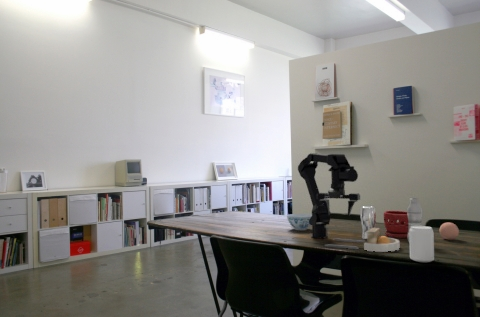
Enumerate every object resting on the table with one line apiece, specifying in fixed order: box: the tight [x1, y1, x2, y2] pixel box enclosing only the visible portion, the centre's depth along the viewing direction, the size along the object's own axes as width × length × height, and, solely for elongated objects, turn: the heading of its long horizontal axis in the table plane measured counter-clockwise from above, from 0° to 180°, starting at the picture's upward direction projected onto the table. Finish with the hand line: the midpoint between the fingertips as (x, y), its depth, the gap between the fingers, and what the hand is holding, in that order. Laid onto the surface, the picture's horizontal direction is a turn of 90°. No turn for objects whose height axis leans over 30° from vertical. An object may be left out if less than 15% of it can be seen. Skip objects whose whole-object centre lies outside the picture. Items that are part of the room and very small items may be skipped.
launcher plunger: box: [366, 227, 381, 244], centre depth 169 cm, size 3×12×7 cm, turn 151°
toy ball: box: [439, 222, 460, 241], centre depth 184 cm, size 8×8×8 cm
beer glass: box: [360, 205, 377, 240], centre depth 190 cm, size 7×7×15 cm
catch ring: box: [363, 236, 401, 253], centre depth 167 cm, size 12×19×3 cm, turn 151°
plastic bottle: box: [406, 197, 423, 242], centre depth 175 cm, size 6×7×20 cm
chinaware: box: [286, 213, 312, 231], centre depth 220 cm, size 15×15×8 cm
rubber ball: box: [377, 235, 390, 244], centre depth 167 cm, size 5×5×5 cm
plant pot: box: [383, 210, 409, 239], centre depth 194 cm, size 13×13×12 cm
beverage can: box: [408, 225, 435, 263], centre depth 145 cm, size 8×8×12 cm
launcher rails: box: [324, 238, 367, 250], centre depth 175 cm, size 14×16×1 cm
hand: (338, 215), depth 181 cm, fingers open, 9 cm apart
